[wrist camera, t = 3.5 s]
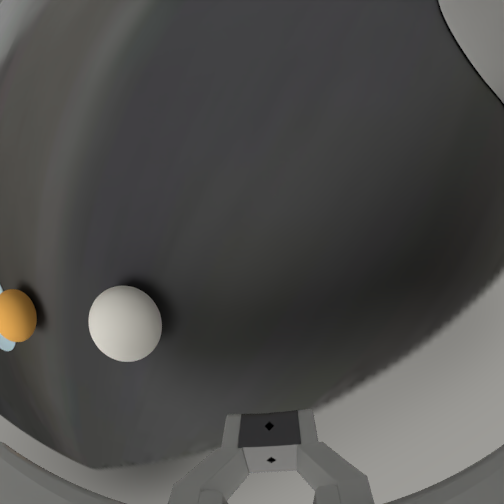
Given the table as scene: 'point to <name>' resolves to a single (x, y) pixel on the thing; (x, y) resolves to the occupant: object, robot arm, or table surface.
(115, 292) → the white ball
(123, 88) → the table surface
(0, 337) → the blue mark
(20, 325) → the orange ball
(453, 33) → the robot arm
